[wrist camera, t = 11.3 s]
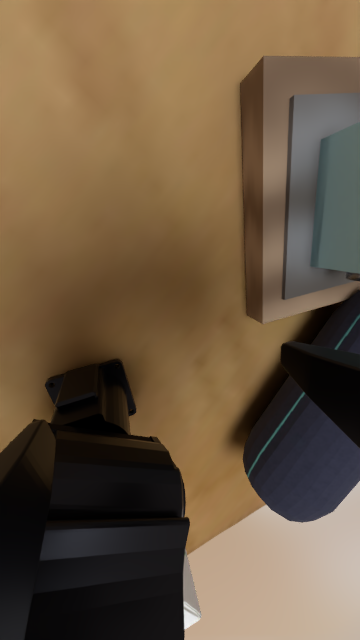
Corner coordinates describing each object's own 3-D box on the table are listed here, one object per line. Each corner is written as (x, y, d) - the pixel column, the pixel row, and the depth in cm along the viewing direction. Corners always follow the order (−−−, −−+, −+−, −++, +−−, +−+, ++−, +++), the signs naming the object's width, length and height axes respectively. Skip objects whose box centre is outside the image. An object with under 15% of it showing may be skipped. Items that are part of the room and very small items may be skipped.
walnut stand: (358, 284, 26) (387, 290, 23) (246, 314, 23) (265, 325, 20) (396, 80, 19) (444, 54, 16) (240, 83, 15) (267, 50, 13)
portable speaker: (264, 449, 32) (329, 529, 24) (218, 449, 27) (281, 552, 19) (371, 302, 28) (496, 338, 20) (340, 267, 22) (495, 296, 14)
